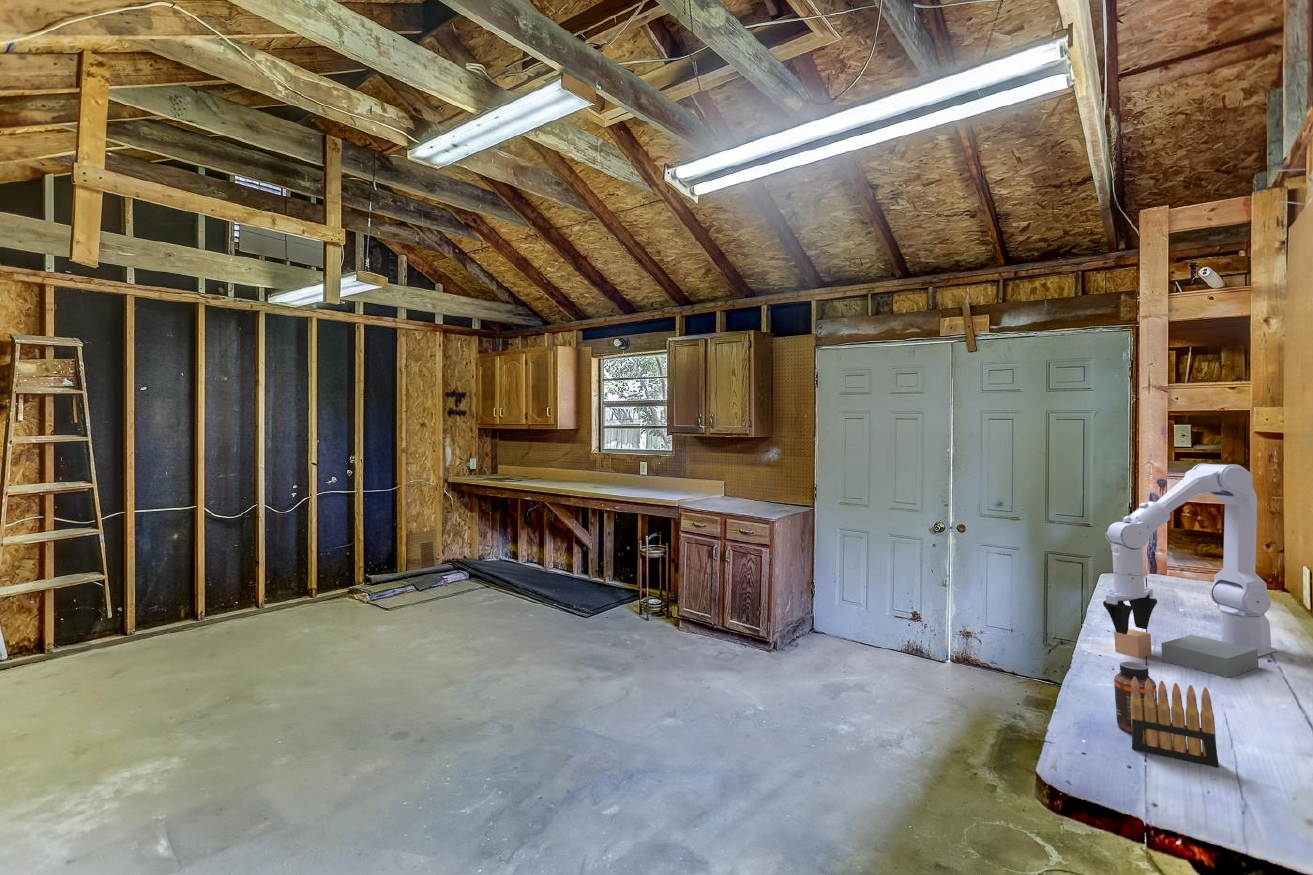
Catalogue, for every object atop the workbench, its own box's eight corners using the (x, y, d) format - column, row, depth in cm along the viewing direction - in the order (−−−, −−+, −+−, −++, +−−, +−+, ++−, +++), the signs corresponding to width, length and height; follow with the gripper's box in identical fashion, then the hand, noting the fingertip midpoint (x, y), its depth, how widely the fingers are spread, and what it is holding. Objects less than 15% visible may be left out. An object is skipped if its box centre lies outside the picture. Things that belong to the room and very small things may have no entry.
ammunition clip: (1132, 749, 102) (1127, 677, 102) (1132, 745, 103) (1127, 673, 103) (1219, 768, 95) (1214, 690, 95) (1217, 763, 96) (1212, 686, 97)
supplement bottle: (1167, 738, 105) (1163, 671, 105) (1128, 736, 106) (1124, 670, 106) (1147, 722, 111) (1143, 659, 111) (1110, 721, 112) (1106, 659, 112)
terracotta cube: (1128, 648, 148) (1127, 628, 148) (1151, 654, 144) (1150, 633, 144) (1115, 652, 146) (1114, 631, 147) (1138, 658, 142) (1137, 636, 142)
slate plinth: (1192, 651, 144) (1191, 634, 144) (1258, 667, 133) (1257, 649, 133) (1162, 660, 140) (1161, 643, 140) (1228, 677, 129) (1226, 658, 129)
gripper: (1128, 567, 152) (1131, 621, 152) (1091, 573, 146) (1094, 630, 146) (1161, 571, 146) (1164, 629, 145) (1123, 579, 140) (1126, 638, 140)
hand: (1131, 630), depth 145 cm, fingers open, 7 cm apart
